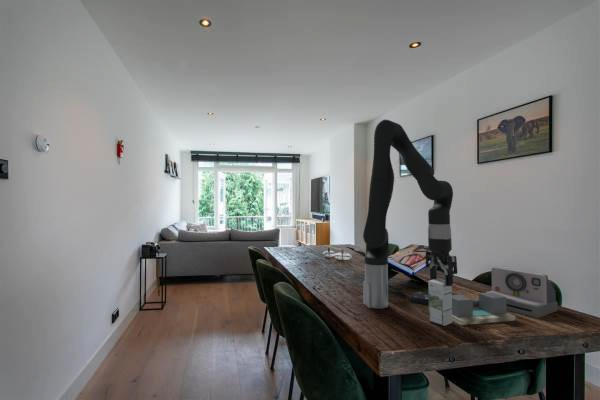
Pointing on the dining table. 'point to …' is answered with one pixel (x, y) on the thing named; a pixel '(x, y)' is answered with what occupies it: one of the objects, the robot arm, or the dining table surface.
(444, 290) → the syrup box
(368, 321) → the dining table surface
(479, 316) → the board
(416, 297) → the disk drive
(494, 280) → the instant camera
